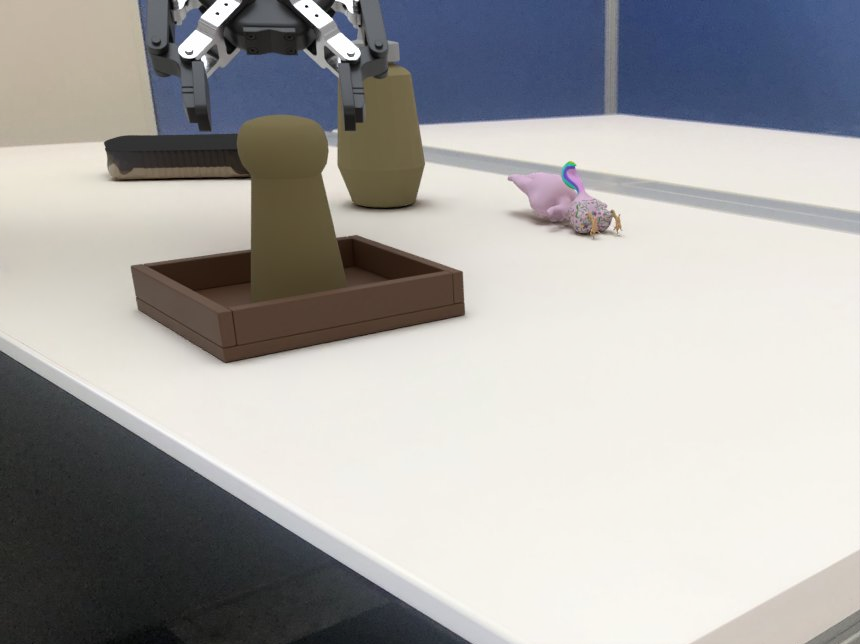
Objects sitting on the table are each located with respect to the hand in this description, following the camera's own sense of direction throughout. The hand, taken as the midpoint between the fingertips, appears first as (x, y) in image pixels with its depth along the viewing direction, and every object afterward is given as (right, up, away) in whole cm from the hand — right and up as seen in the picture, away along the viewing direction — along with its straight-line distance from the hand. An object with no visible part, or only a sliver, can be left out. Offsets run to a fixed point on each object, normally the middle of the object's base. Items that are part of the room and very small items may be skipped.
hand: (278, 123), depth 65 cm
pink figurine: (+15, +1, +30) cm, 34 cm away
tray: (+1, -11, +3) cm, 11 cm away
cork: (+1, -11, +2) cm, 11 cm away
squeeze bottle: (-2, +4, +37) cm, 37 cm away
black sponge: (-26, +11, +50) cm, 58 cm away
